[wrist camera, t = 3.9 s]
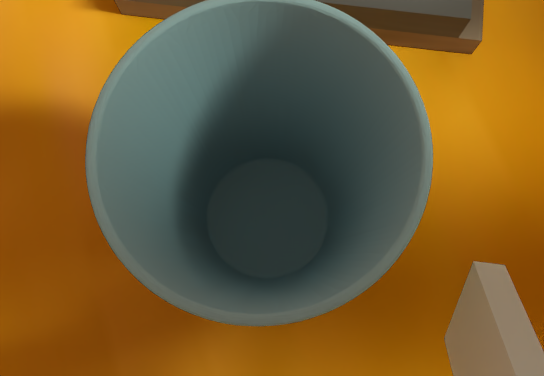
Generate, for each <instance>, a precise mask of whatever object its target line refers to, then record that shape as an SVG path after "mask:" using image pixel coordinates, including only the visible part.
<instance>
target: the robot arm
mask: <svg viewBox="0 0 544 376" xmlns="http://www.w3.org/2000/svg"><path fill="white" fill-rule="evenodd" d="M444 340H445V344H446V348H447V352H448V356H449V360H450V364H451V368H452V372H453V376H544V351H543V349H542V347H541V345H540V342H539V340H538V338H537V336H536V333H535V331H534V329H533V327H532V324H531V322H530V320H529V318H528V315H527V313H526V311H525V309H524V307H523V304H522V302H521V300H520V298H519V295H518V293H517V291H516V289H515V286H514V284H513V282H512V280H511V278H510V275H509V273H508V271H507V269H506V266H505V265H501V264H493V263H485V262H476V261H473V263H472V266H471V269H470V271H469V274H468V277H467V279H466V282H465V284H464V287H463V290H462V292H461V295H460V298H459V300H458V303H457V306H456V308H455V311H454V313H453V316H452V319H451V321H450V324H449V327H448V329H447V332H446V335H445V337H444Z"/></svg>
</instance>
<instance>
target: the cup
mask: <svg viewBox="0 0 544 376" xmlns="http://www.w3.org/2000/svg"><path fill="white" fill-rule="evenodd" d="M85 169H86V179H87V186H88V192H89V196H90V200H91V204H92V207H93V211H94V214H95V217H96V219H97V222H98V224H99V226H100V229H101V231H102V233H103V235H104V237H105V238H106V240H107V242H108V243H109V245H110V247H111V249H112V250H113V252H114V253H115V254H116V256H117V257H118V259H119V260H120V261H121V262H122V263H123V265H124V266H125V267H126V268H127V269H128V270H129V271H130V272H131V273H132V274H133V275H134V277H135V278H136V279H137V280H139V281H140V282H141V283H142V284H143V285H144V286H146V287H147V288H148V289H149V290H150V291H152V292H153V293H154V294H156V295H157V296H159V297H160V298H162V299H163V300H165V301H167V302H168V303H170V304H172V305H174V306H176V307H178V308H180V309H182V310H184V311H186V312H189V313H191V314H194V315H196V316H199V317H202V318H205V319H208V320H212V321H216V322H220V323H225V324H232V325H241V326H274V325H283V324H290V323H294V322H300V321H303V320H307V319H310V318H313V317H316V316H319V315H322V314H325V313H327V312H330V311H332V310H334V309H336V308H338V307H340V306H342V305H344V304H345V303H347V302H349V301H350V300H352V299H354V298H355V297H357V296H358V295H360V294H361V293H363V292H364V291H366V290H367V289H368V288H369V287H371V286H372V285H373V284H374V283H375V282H377V281H378V280H379V279H380V278H381V277H382V276H383V275H384V274H385V273H386V272H387V271H388V270H389V269H390V267H391V266H392V265H393V264H394V263H395V261H396V260H397V259H398V258H399V256H400V255H401V254H402V252H403V251H404V249H405V248H406V246H407V245H408V243H409V241H410V240H411V238H412V236H413V234H414V233H415V231H416V229H417V227H418V225H419V222H420V220H421V217H422V215H423V212H424V210H425V206H426V203H427V199H428V195H429V190H430V185H431V178H432V169H433V146H432V136H431V130H430V125H429V120H428V116H427V113H426V110H425V107H424V103H423V101H422V98H421V96H420V94H419V91H418V89H417V87H416V85H415V83H414V81H413V79H412V78H411V76H410V74H409V72H408V71H407V69H406V68H405V66H404V65H403V63H402V62H401V61H400V59H399V58H398V57H397V55H396V54H395V53H394V52H393V51H392V50H391V49H390V48H389V47H388V45H387V44H386V43H385V42H384V41H383V40H381V39H380V38H379V37H378V36H377V35H376V34H375V33H374V32H373V31H371V30H370V29H369V28H367V27H366V26H365V25H363V24H362V23H361V22H359V21H358V20H356V19H354V18H353V17H351V16H349V15H348V14H346V13H344V12H342V11H340V10H338V9H336V8H333V7H331V6H329V5H327V4H324V3H321V2H318V1H315V0H206V1H203V2H200V3H197V4H195V5H192V6H190V7H188V8H185V9H183V10H181V11H179V12H177V13H175V14H173V15H172V16H170V17H168V18H167V19H165V20H163V21H162V22H160V23H159V24H157V25H156V26H155V27H153V28H152V29H151V30H149V31H148V32H147V33H145V34H144V35H143V36H142V37H141V38H140V39H139V40H138V41H137V42H136V43H135V44H134V45H133V46H132V47H131V48H130V49H129V50H128V51H127V52H126V54H125V55H124V56H123V57H122V58H121V60H120V61H119V62H118V64H117V65H116V66H115V68H114V69H113V71H112V72H111V74H110V75H109V77H108V79H107V81H106V83H105V84H104V86H103V88H102V90H101V92H100V94H99V97H98V100H97V102H96V105H95V107H94V110H93V113H92V117H91V121H90V125H89V130H88V136H87V142H86V156H85Z"/></svg>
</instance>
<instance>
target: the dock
mask: <svg viewBox="0 0 544 376" xmlns="http://www.w3.org/2000/svg"><path fill="white" fill-rule="evenodd" d="M114 1H115V3H116V5H117V6H118V8H119V10H120V12H121V14H125V15H134V16H143V17H151V18H160V19H167V18H168V17H170V16H172V15H173V14H175V13H177V12H179V11H181V10H183V9H185V8H188V7H190V6H192V5H195V4H197V3H200V2H203V1H206V0H114ZM315 1H318V2H321V3H324V4H327V5H329V6H331V7H333V8H336V9H338V10H340V11H342V12H344V13H346V14H348V15H349V16H351V17H353V18H354V19H356V20H358V21H359V22H361V23H362V24H363V25H365V26H366V27H367V28H369V29H370V30H371V31H373V32H374V33H375V34H376V35H377V36H378V37H379V38H380V39H381V40H383V41H384V42H385V43H386V44H388V45H397V46H405V47H414V48H423V49H432V50H440V51H449V52H458V53H467V54H472V53H473V51H474V50H475V49H476V48H477V46H478V45H479V44H480V42H481V41H482V27H483V6H484V0H315Z"/></svg>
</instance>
